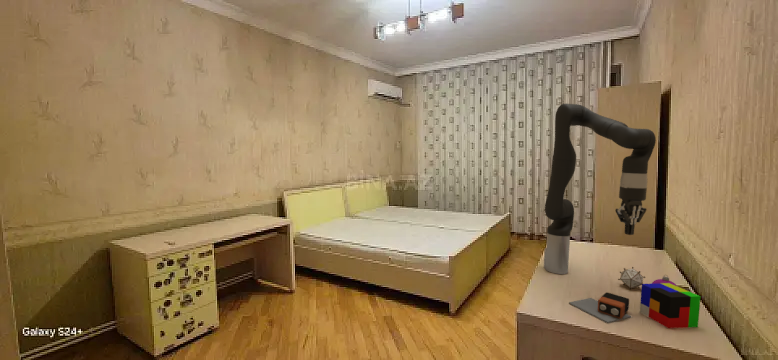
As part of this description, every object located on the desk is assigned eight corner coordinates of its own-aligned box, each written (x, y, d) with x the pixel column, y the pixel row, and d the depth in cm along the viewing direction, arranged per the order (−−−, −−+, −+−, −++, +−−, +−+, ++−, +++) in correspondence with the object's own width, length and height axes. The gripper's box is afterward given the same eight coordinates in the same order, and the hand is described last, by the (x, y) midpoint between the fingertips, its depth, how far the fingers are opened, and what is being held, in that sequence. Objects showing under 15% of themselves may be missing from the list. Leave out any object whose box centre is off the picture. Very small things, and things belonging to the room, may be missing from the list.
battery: (628, 310, 106) (620, 320, 100) (605, 303, 111) (596, 312, 105) (629, 298, 106) (621, 307, 99) (605, 291, 111) (597, 299, 104)
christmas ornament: (644, 298, 116) (646, 272, 116) (657, 294, 120) (659, 269, 119) (671, 308, 109) (673, 280, 108) (684, 304, 112) (686, 277, 111)
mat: (568, 303, 112) (568, 302, 112) (590, 299, 116) (590, 297, 116) (607, 323, 99) (607, 321, 99) (631, 317, 103) (631, 316, 102)
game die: (636, 298, 125) (655, 285, 118) (614, 289, 126) (631, 275, 120) (631, 280, 132) (648, 267, 125) (610, 272, 133) (626, 258, 127)
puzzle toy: (639, 312, 106) (641, 283, 105) (666, 311, 107) (669, 283, 106) (668, 328, 96) (670, 297, 96) (697, 327, 97) (700, 296, 96)
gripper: (634, 184, 115) (630, 230, 117) (609, 185, 111) (605, 233, 112) (657, 186, 108) (653, 235, 110) (631, 187, 104) (627, 238, 105)
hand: (628, 234), depth 111 cm, fingers closed
